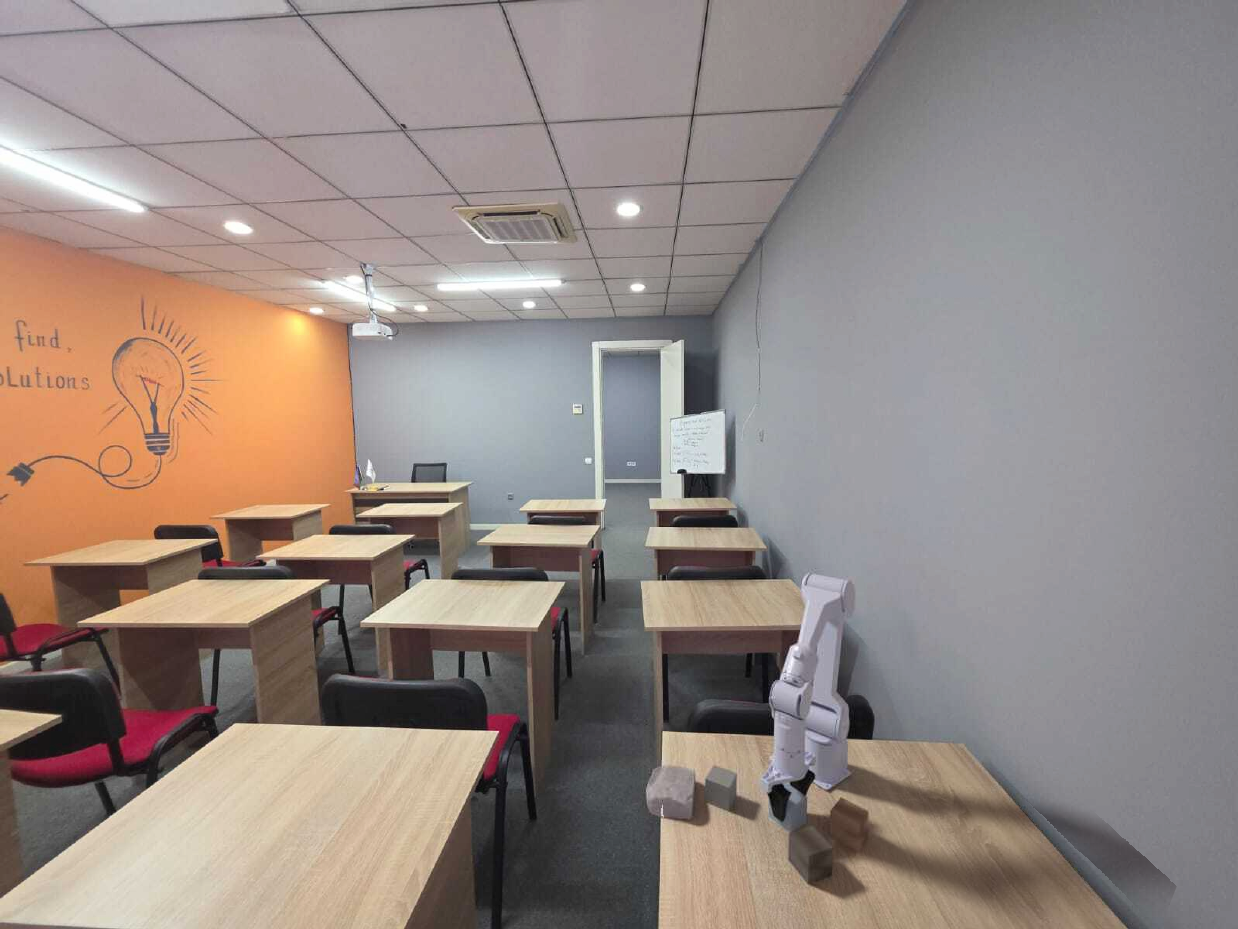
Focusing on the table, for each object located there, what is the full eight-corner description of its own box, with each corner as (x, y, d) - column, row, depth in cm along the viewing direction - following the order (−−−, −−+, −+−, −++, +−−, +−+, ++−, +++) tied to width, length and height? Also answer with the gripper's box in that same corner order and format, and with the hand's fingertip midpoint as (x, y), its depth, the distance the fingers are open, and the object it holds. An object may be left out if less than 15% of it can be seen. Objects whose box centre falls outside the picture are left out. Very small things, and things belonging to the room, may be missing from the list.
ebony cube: (811, 852, 87) (812, 825, 87) (832, 876, 82) (832, 847, 82) (788, 860, 85) (788, 833, 85) (808, 884, 81) (808, 855, 80)
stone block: (646, 825, 95) (696, 823, 93) (641, 800, 96) (691, 798, 94) (653, 785, 107) (698, 782, 105) (649, 763, 107) (694, 760, 105)
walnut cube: (840, 822, 94) (841, 797, 94) (867, 837, 91) (868, 811, 90) (829, 836, 91) (830, 810, 90) (857, 852, 87) (858, 826, 87)
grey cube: (713, 787, 103) (713, 764, 103) (736, 796, 101) (736, 773, 100) (704, 802, 99) (705, 778, 99) (728, 812, 96) (729, 788, 96)
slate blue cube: (784, 806, 98) (785, 782, 98) (806, 822, 94) (807, 797, 94) (768, 816, 95) (769, 792, 95) (790, 833, 91) (791, 808, 91)
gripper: (794, 722, 101) (793, 785, 102) (747, 746, 93) (746, 814, 94) (825, 739, 96) (823, 806, 96) (778, 766, 87) (776, 839, 88)
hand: (787, 811), depth 95 cm, fingers closed on slate blue cube, 5 cm apart
